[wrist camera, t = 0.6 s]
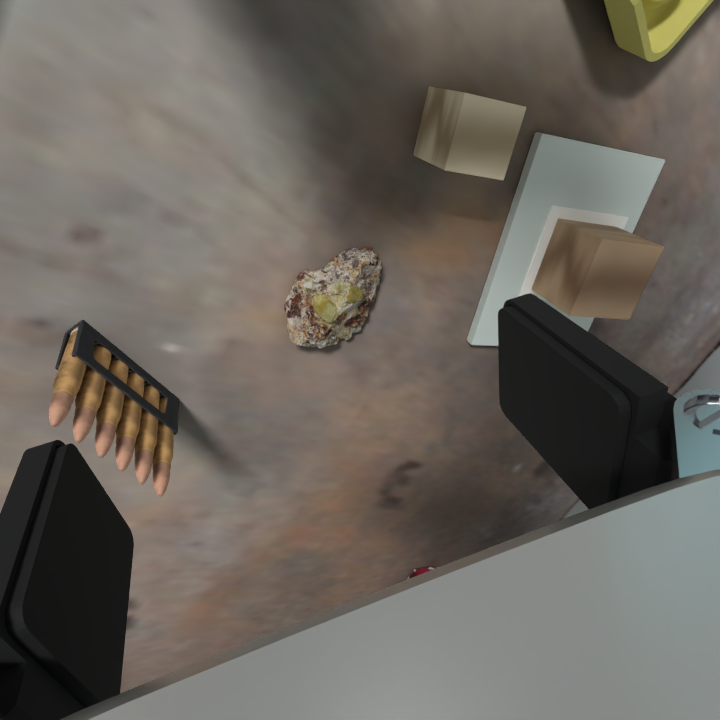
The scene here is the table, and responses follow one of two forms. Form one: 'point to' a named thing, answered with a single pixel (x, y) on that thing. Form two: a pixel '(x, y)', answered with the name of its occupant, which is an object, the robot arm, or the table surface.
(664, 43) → the plastic component
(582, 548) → the robot arm
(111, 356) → the ammunition clip
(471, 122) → the maple block
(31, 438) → the table surface
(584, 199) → the board
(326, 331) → the mineral rock
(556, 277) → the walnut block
